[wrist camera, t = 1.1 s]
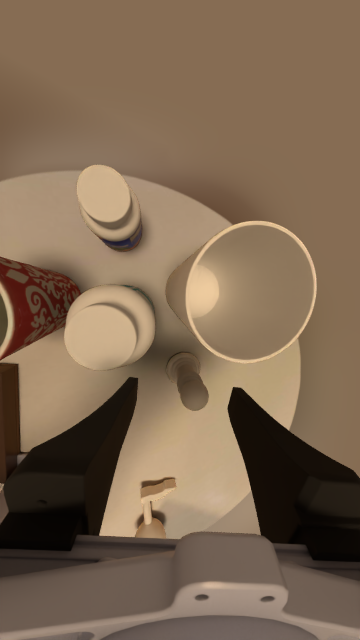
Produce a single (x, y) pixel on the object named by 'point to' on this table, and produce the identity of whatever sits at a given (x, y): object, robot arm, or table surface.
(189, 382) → the chess piece
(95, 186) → the pill bottle
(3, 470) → the tray
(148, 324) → the pill bottle
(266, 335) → the cup
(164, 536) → the figurine
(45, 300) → the mug
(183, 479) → the table surface
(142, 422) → the table surface
